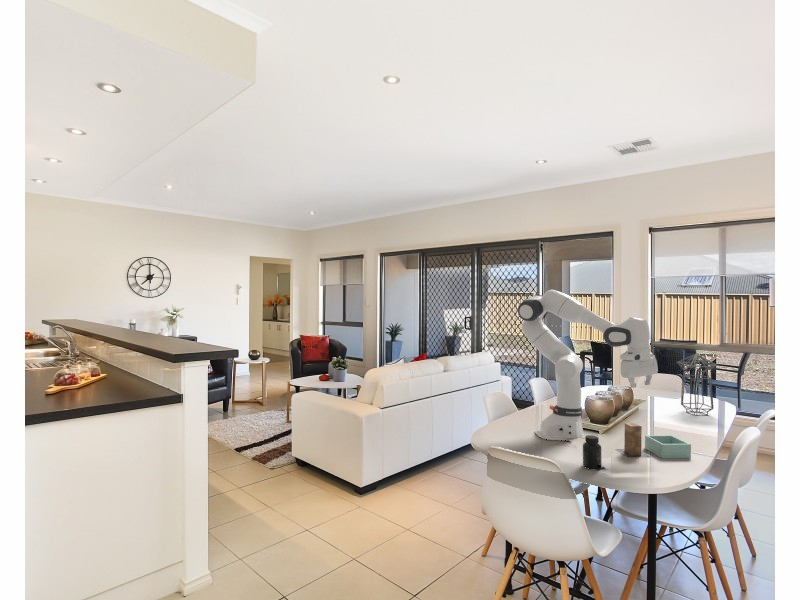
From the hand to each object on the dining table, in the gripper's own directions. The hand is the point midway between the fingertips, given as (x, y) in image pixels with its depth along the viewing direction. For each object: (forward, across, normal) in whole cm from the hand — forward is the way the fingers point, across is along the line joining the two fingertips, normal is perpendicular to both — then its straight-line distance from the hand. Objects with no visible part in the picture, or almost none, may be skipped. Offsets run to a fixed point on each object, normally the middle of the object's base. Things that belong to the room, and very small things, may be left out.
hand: (640, 386), depth 194 cm
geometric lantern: (+31, -87, -28) cm, 97 cm away
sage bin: (+29, -4, +8) cm, 30 cm away
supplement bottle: (+28, +36, +3) cm, 45 cm away
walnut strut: (+27, +10, +2) cm, 29 cm away
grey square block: (+28, +10, +2) cm, 30 cm away
